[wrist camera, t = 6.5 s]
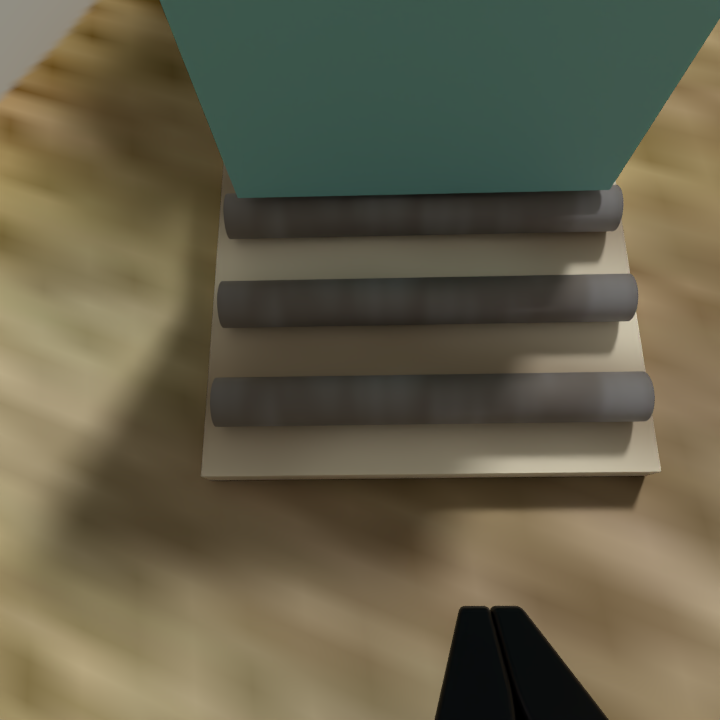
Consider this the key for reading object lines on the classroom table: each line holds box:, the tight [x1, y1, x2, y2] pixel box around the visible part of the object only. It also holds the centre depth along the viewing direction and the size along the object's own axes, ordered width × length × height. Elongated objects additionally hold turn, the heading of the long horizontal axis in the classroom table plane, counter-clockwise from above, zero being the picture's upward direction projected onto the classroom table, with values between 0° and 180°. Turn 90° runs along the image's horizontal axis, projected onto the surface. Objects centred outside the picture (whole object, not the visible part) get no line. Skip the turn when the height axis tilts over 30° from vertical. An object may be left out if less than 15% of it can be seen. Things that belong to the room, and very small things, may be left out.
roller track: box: [201, 162, 661, 480], centre depth 18 cm, size 18×13×6 cm
